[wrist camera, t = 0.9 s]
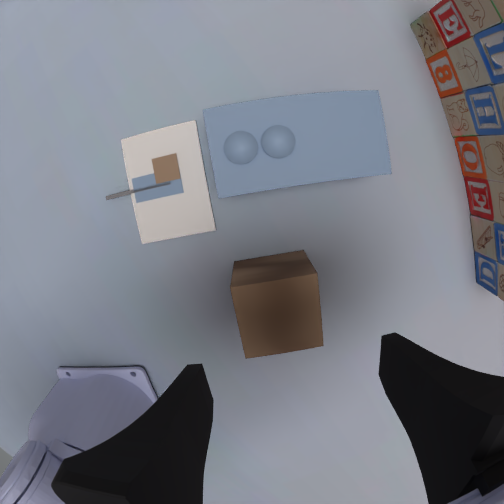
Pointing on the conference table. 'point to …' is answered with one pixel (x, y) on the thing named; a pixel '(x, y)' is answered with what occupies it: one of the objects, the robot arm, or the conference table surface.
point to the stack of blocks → (473, 114)
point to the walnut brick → (277, 304)
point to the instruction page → (167, 183)
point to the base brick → (296, 141)
